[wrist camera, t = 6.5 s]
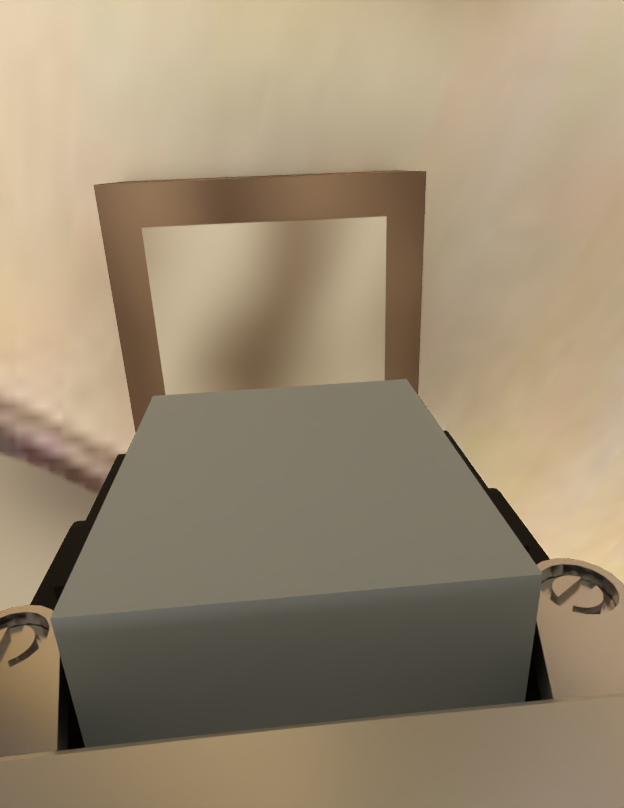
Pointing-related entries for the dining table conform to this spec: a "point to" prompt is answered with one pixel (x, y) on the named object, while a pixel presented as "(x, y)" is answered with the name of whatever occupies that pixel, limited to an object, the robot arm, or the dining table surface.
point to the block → (292, 570)
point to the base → (265, 280)
